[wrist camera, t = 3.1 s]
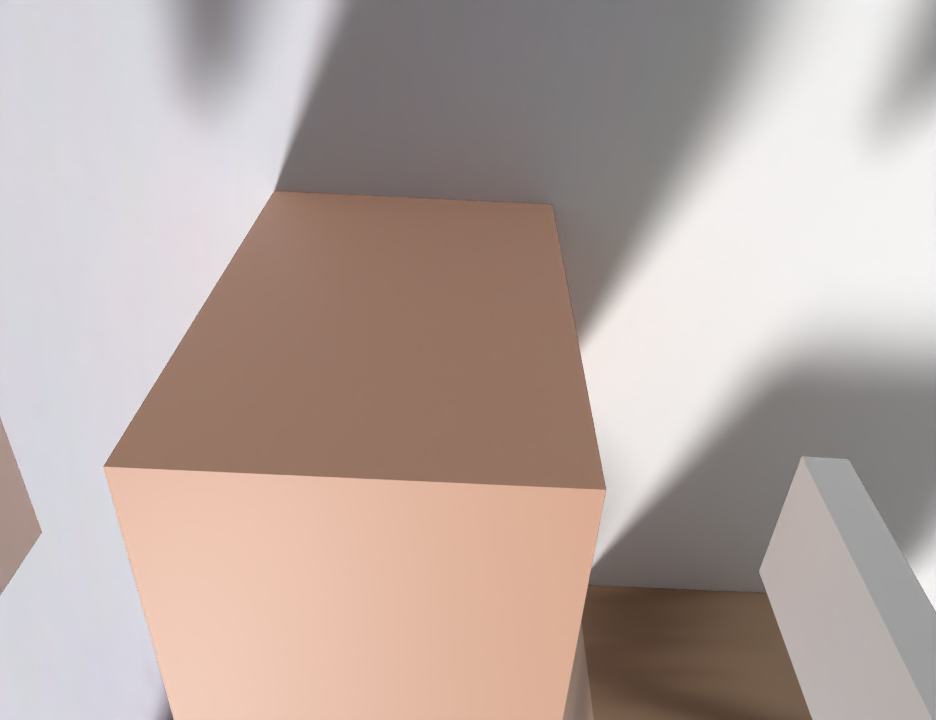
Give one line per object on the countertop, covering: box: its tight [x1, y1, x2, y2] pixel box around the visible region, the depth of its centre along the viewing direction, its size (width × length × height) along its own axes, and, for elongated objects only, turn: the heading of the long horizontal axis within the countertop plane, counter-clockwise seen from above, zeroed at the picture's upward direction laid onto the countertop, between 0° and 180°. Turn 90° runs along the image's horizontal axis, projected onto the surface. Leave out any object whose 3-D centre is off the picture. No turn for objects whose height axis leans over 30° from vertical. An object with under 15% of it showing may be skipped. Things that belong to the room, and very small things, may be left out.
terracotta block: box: [103, 191, 606, 720], centre depth 15 cm, size 6×6×9 cm
